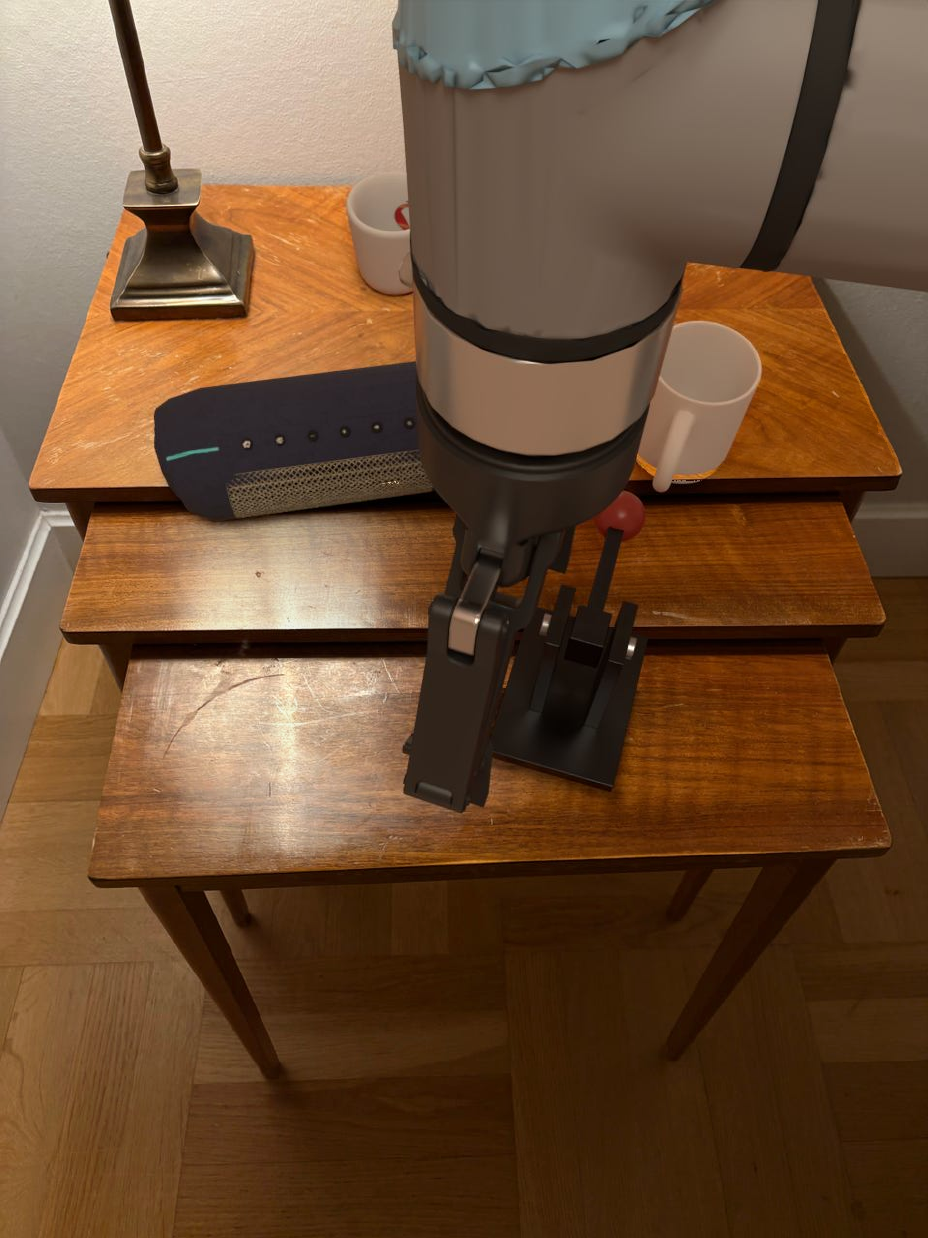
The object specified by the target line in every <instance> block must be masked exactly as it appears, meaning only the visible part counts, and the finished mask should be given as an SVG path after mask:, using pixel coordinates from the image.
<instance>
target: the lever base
mask: <svg viewBox="0 0 928 1238" xmlns="http://www.w3.org/2000/svg"><path fill="white" fill-rule="evenodd" d="M576 592H577V588H576V587H575V586H570V585H566V584H563V583H561V585H560V587H559V591H558V594H557V597H556V600H555V604H554V607H553V610H550V609H546V608H543V607H539V606H538V608H537V611H536V613H535V615H534V617H533V618H532V620H531V622H530V624H529V625H528V626H527V627H525V628H523V629H522V633H521V636H520V639H519V642H518V645H517V646H518V647H517V649H516V652H515V656H514V658H513V662H512V666H511V669H510V672H509V675H508V679H507V682H506V685H505V688H504V692H503V695H502V698H501V703H500V705H499V708H498V712H497V714H496V717H495V720H494V723H493V727H492V730H491V733H490V737H489V741H492V742H494V745H493V755H492V759H495V760H498V761H503V762H506V763H508V764H512V765H516V766H519V767H524V768H527V769H529V770H533V771H536V772H538V773H539V772H540V773H543V774H546V775H550V776H553V777H557V778H560V779H563V780H566V781H571V782H574V783H577V784H581V785H584V786H587V787H591V788H594V789H597V790H600V791H604V792H608V793H611V792H612V790H613V789H614V786H615V782H616V778H617V774H618V769H619V765H620V762H621V761H620V760H621V756H622V752H623V748H624V743H625V740H626V734H627V731H628V726H629V724H630V723H629V722H630V718H631V713H632V709H633V706H634V701H635V697H636V693H637V689H638V685H639V680H640V676H641V671H642V666H643V663H644V659H645V654H646V651H647V645H648V641H649V637H647V636H646V635H645V636H644V635H641V634H638V633H634V632H633V629H634V625H635V621H636V617H637V613H638V609H639V604H638V603H635V602H634V603H633V602H631V601H626V600H623V601H622V603H621V605H620V608H619V611H618V614H617V616H616V619H615V622H614V625H613V627H612V626H609V629H608V633H607V637H606V642H605V646H604V649H603V652H602V655H601V658H600V661H599V664H598V667H597V668H593V667H589V666H586V665H582V664H579V663H575V662H572V661H568V660H565V659H564V655H565V652H566V648H567V644H568V641H569V637H570V634H571V630H572V626H573V623H574V619H575V616H572V615H570V614H571V610H572V607H573V603H574V600H575V595H576Z"/></svg>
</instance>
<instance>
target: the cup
mask: <svg viewBox="0 0 928 1238" xmlns="http://www.w3.org/2000/svg"><path fill="white" fill-rule="evenodd" d="M345 210H346V211H345V212H346V216H347V221H348V226H349V229H350V234H351V240H352V244H353V248H354V254H355V258H356V264H357V265H358V266H357V267H358V270H359V272H360V275H361V277H362V279H363V280H364V282H365V283H366V284H367V285H368V286H369V287H370V288H372V289H373V290H375V291H377V292H378V293H382V294H385V295H390V296H391V295H393V296H398V295H399V296H401V295H407V294H410V293H413V288H411V287H408V286H405V285H404V284H402V283H401V281H400V279H399V272H398V269H399V267H400V265H401V263H402V261H403V258H404V257H405V256H406V255H407V254H408V252H410V236H409V235H410V220H409V205H408V189H407V174H406V172H404V171H403V172H402V171H382V172H377V173H374V174H370V175H368V176H366V177H364V178H363V179H360V180H359V181H358V182H357V183H356V184H354V185H353V187H352V188H351V189H350V191H349V192H348V194H347V197H346V200H345Z"/></svg>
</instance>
